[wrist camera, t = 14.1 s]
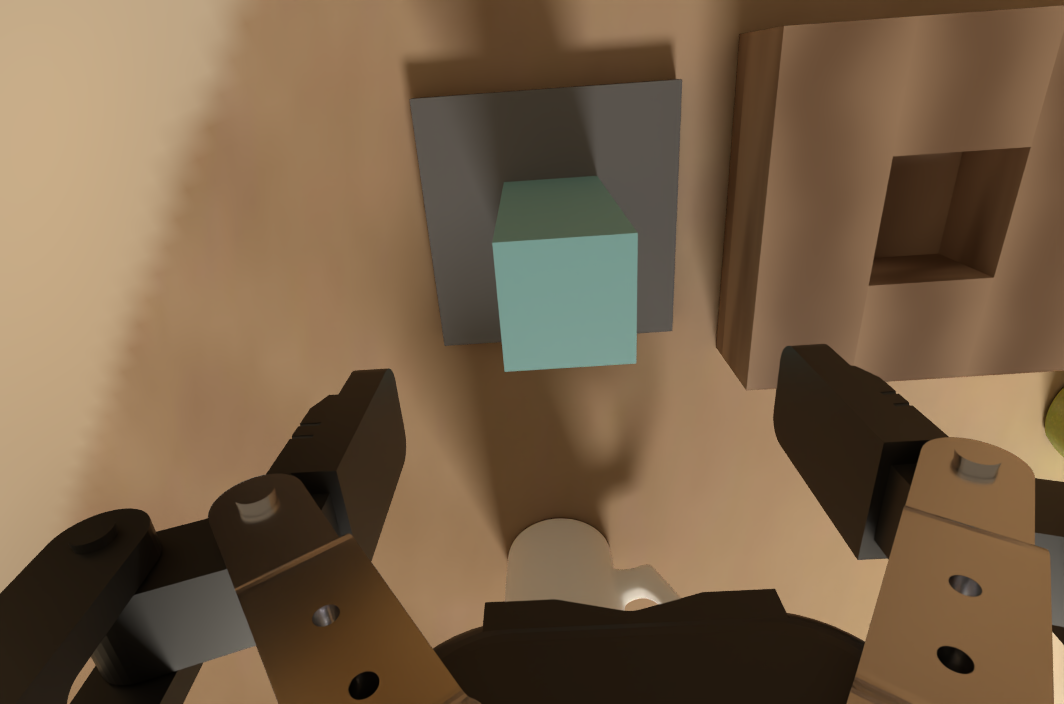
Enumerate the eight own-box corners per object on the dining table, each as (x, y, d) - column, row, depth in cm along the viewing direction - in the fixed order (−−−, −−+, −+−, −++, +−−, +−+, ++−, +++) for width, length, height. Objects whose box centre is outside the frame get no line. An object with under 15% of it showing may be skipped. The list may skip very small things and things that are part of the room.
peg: (597, 175, 25) (637, 232, 16) (598, 265, 27) (636, 363, 18) (504, 182, 25) (492, 242, 16) (511, 271, 27) (504, 371, 18)
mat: (676, 79, 24) (682, 79, 24) (667, 323, 29) (672, 331, 28) (413, 98, 25) (409, 99, 24) (446, 337, 29) (444, 345, 28)
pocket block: (1090, 8, 24) (1209, -6, 19) (995, 329, 30) (1070, 370, 25) (739, 34, 24) (784, 25, 20) (716, 347, 30) (746, 390, 26)
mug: (526, 608, 38) (527, 825, 27) (486, 532, 35) (469, 739, 24) (679, 565, 36) (746, 776, 25) (650, 483, 33) (711, 680, 23)
